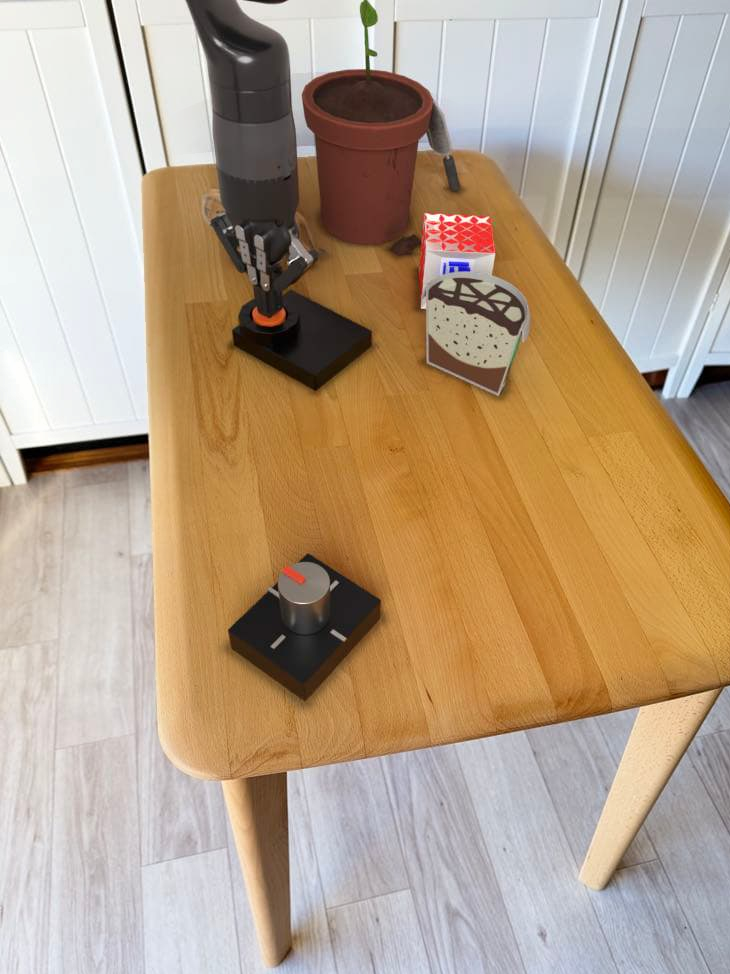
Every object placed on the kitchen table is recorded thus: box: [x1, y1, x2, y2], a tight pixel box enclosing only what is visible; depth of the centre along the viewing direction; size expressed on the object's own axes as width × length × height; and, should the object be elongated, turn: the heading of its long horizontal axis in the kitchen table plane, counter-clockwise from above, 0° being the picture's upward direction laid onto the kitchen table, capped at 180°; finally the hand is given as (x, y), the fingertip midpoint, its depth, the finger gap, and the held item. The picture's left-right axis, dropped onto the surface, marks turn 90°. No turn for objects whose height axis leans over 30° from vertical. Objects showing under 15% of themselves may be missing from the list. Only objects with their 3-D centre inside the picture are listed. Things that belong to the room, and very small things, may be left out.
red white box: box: [418, 212, 496, 310], centre depth 98 cm, size 8×8×8 cm
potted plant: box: [301, 0, 461, 256], centre depth 100 cm, size 18×22×25 cm
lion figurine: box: [200, 187, 327, 257], centre depth 99 cm, size 15×5×9 cm, turn 98°
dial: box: [277, 561, 330, 635], centre depth 65 cm, size 4×4×5 cm
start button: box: [252, 307, 286, 327], centre depth 90 cm, size 4×4×2 cm
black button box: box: [231, 289, 373, 392], centre depth 91 cm, size 10×12×4 cm
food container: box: [421, 271, 531, 397], centre depth 88 cm, size 12×6×10 cm, turn 58°
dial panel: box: [227, 552, 382, 702], centre depth 68 cm, size 10×8×3 cm
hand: (269, 312), depth 89 cm, fingers closed
